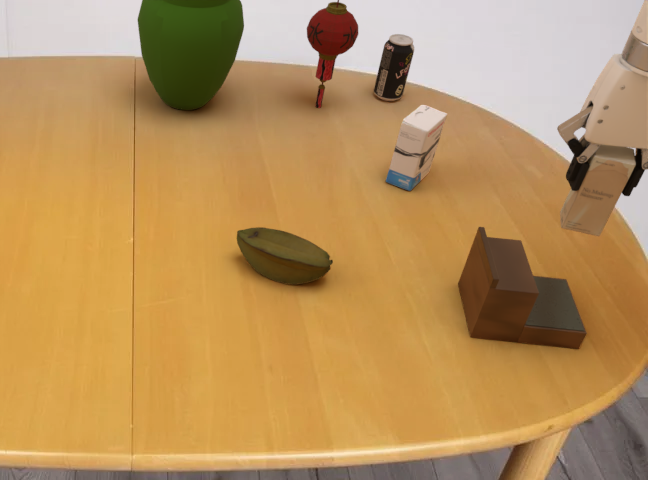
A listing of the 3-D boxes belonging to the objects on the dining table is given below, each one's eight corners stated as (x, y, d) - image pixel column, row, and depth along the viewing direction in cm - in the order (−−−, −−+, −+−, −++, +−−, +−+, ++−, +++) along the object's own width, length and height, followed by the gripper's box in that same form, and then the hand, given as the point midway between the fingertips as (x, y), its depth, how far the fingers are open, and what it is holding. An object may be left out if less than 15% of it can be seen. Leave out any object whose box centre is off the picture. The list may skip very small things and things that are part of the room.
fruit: (266, 301, 127) (272, 266, 122) (230, 254, 135) (235, 218, 130) (334, 285, 130) (343, 250, 126) (295, 239, 138) (302, 204, 134)
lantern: (319, 90, 176) (348, -65, 155) (352, 110, 170) (387, -48, 150) (284, 102, 172) (309, -57, 151) (316, 123, 166) (347, -39, 146)
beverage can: (402, 92, 177) (417, 35, 168) (400, 105, 173) (415, 47, 164) (374, 87, 178) (388, 30, 170) (371, 100, 174) (384, 42, 166)
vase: (132, 123, 163) (136, -8, 146) (136, 75, 177) (141, -49, 161) (236, 129, 163) (252, -1, 146) (232, 80, 177) (247, -43, 161)
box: (560, 229, 115) (591, 155, 108) (559, 211, 118) (590, 138, 111) (602, 237, 114) (637, 163, 106) (600, 219, 117) (634, 147, 110)
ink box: (410, 192, 149) (428, 131, 141) (384, 182, 152) (400, 121, 144) (430, 172, 155) (449, 112, 147) (405, 162, 157) (421, 102, 149)
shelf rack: (559, 294, 131) (586, 237, 124) (578, 349, 122) (609, 290, 115) (457, 283, 132) (478, 226, 124) (470, 337, 123) (493, 278, 116)
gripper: (724, 46, 102) (657, 178, 114) (574, 33, 103) (523, 165, 115) (749, 75, 97) (675, 211, 109) (591, 61, 98) (535, 197, 110)
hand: (598, 186), depth 112 cm, fingers closed on box, 5 cm apart
